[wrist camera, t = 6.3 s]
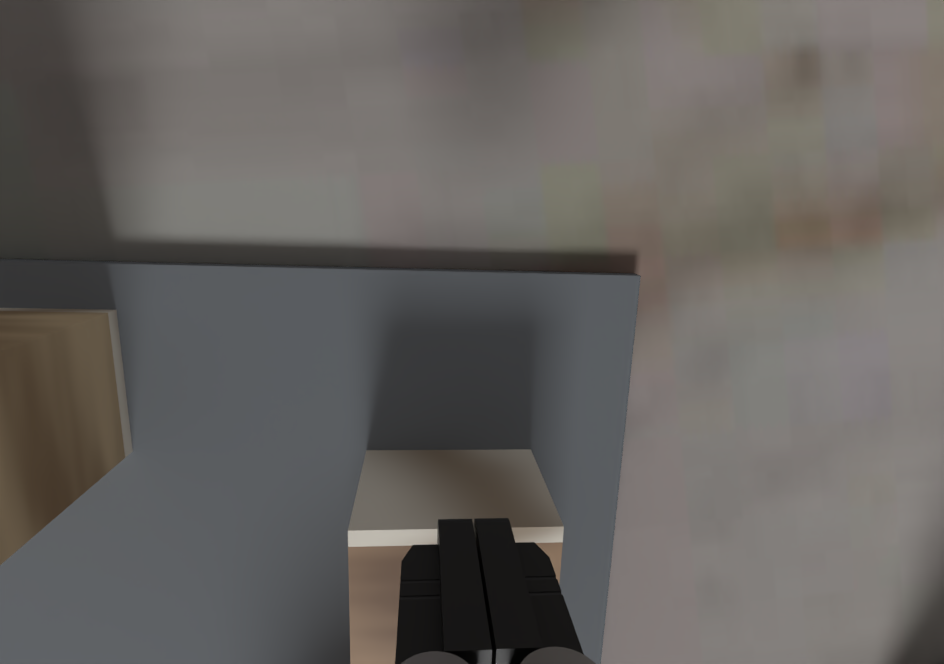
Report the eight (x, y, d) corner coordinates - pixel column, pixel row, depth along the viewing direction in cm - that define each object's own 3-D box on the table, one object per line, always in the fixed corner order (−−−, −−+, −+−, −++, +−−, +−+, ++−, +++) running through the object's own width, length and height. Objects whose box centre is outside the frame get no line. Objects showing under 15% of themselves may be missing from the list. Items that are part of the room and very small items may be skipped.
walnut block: (563, 526, 16) (539, 826, 18) (530, 449, 20) (515, 694, 23) (347, 530, 15) (354, 839, 18) (366, 450, 20) (369, 700, 22)
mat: (634, 273, 20) (640, 275, 19) (592, 687, 24) (596, 700, 23) (-197, 254, 17) (-218, 256, 17) (-85, 718, 22) (-99, 732, 21)
